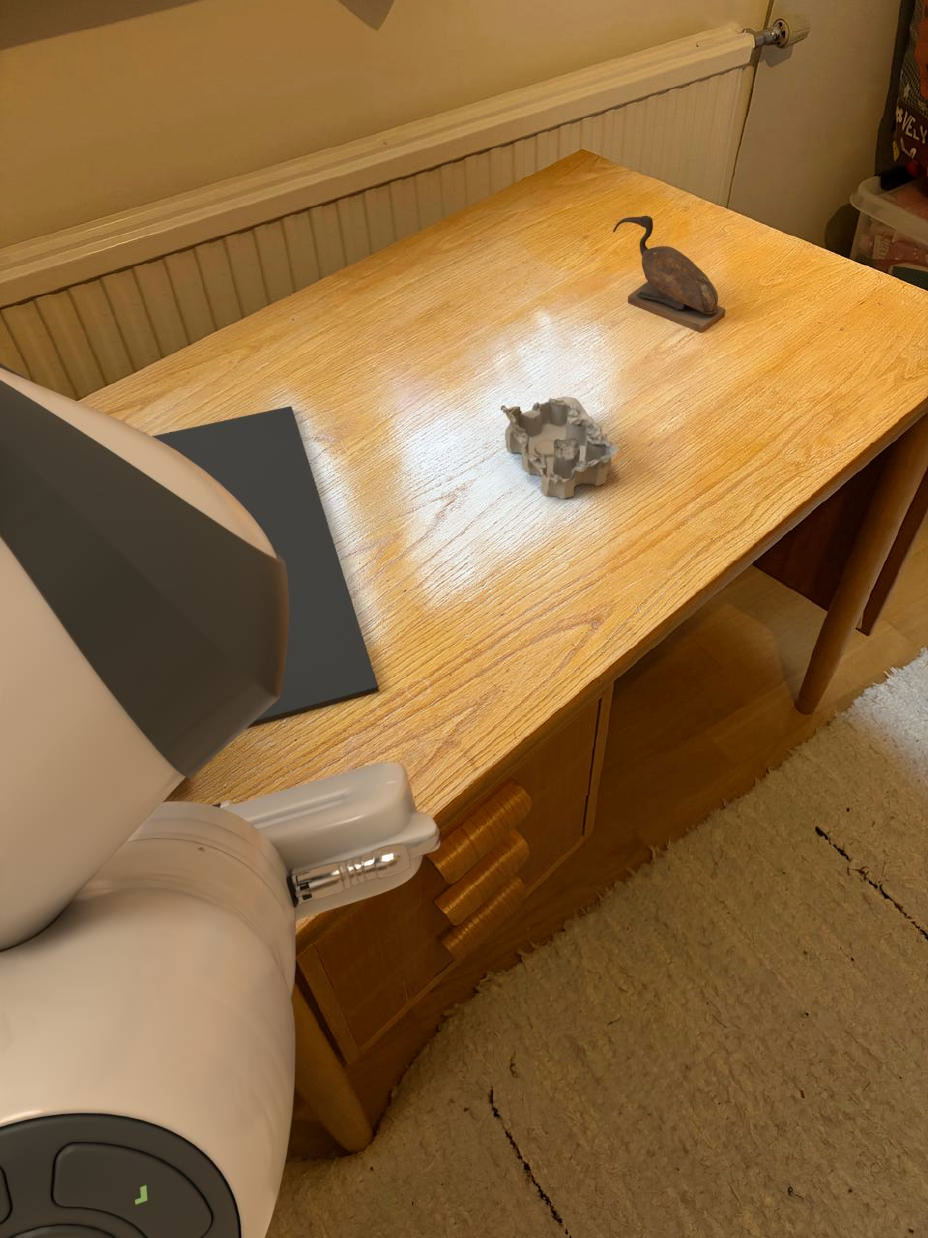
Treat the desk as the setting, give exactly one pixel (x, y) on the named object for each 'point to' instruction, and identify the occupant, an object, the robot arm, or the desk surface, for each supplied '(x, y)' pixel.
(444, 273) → the desk surface
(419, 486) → the desk surface
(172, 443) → the desk mat
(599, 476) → the egg carton
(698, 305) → the figurine
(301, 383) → the desk surface
